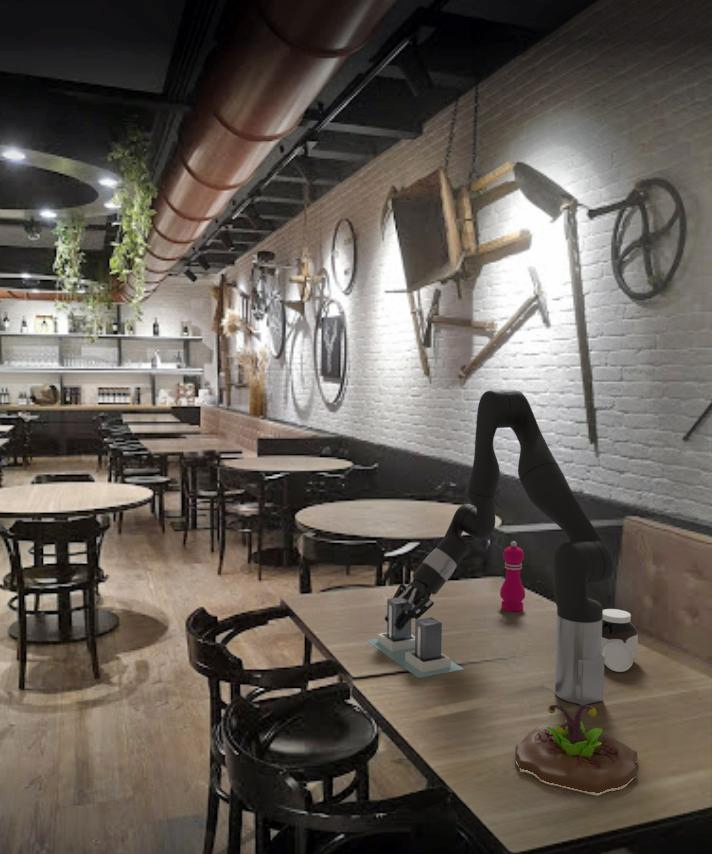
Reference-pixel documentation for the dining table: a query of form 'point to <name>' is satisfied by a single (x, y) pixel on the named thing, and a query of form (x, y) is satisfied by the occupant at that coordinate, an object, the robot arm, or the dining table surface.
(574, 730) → the plant
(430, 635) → the seated billet
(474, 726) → the dining table surface
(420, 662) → the pallet
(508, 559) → the pepper mill
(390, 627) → the loose billet
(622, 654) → the spread jar
